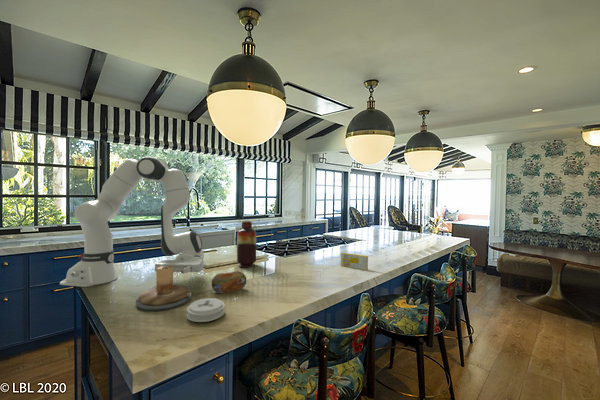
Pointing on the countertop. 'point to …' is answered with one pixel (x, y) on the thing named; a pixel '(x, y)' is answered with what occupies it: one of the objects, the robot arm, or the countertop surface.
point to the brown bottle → (246, 245)
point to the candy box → (354, 261)
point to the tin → (228, 282)
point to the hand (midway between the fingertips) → (171, 271)
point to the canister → (164, 280)
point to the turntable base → (162, 307)
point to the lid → (205, 310)
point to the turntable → (157, 300)
